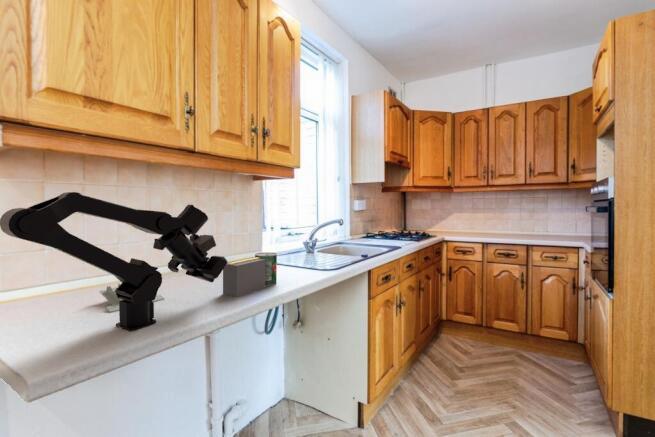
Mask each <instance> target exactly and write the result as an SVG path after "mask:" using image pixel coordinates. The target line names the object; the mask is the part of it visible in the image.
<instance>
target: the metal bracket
mask: <svg viewBox="0 0 655 437" xmlns="http://www.w3.org/2000/svg"><path fill="white" fill-rule="evenodd" d="M120 285H121V283H118V284H117V287H111V285H107V286H106V289H103V290H99V293H100V294H101V295H102V296H103V297H104V298H105V300H107V301H108V303H110V304H111V305H109V306H106V307H105V309H106V311H107V312H109V313H110V314H113V313H117V312H119V301H122V300H123V299H119V298H117V295H116V293H115V290H116V289H117V288H118V287H119V286H120ZM162 301H163V302H164V301H165V297H164V296H162V295H161V294H156V297H155V300H152V302H154V303H159V302H162Z"/></svg>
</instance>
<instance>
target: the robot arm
mask: <svg viewBox="0 0 655 437" xmlns="http://www.w3.org/2000/svg"><path fill="white" fill-rule="evenodd" d="M75 213H78V214H82V215H88V216H92V217H95V218H101V219H104V220H105V219H106V220H109V221H114V222H119V223H124V224H126V225H129V226H131V227H133V228H134V229H137V230H139V231H142V232H144V233H146V234H150V235H151V234H152V235H161V236H160V237H158V238H157V237H156V238H154V239H153V240H154V243H153V244H152V245H153V246H152V248H153V249H155V250H159V251H163V250H165V249H166V250H167V251H168V252H169V253H170V254H171V255H172V256H171V257H170V258H171V259H170V260H169V262H168V263H167V269H169V270H170V271H171V272H172V273H179V272H180V269H179V266H180V268H181V269H182V270H185V275H186V276H190V277H193V278H197V279H200V280H203V281H206V282H208V283H214V281H215V279H218V277H219V276H220V275H221V273H223V269H224V267H225V266H226V264H227V263H229V261H228V260H227V259H226V257H225V256H221V255H211V256H210V257H208V255H209V253H208V252H209V251H210V250H212V249H213V248H215V247H216V246H217V244H216V240H215V237H214V235H212V234H202V235H201V234H200V235H198V234H197V233H198V232H199V231H200V230H201V229H202V228H203V226H204V225H205V224H206V223H207V222H208V221H209V217H208V215H207V214H206V213H205V212H204V211H202V210H201V209H199V208H198V207H195V205H193V204H187V205H186V206H185V208H184V209H183V210H182V211H181V212H180V213H179V214H178V215H177V216H172V214H171V213H169V212H167V211H161V210H146V209H138V208H133V207H130V206H129V207H128V206H126V205H121V204H118V203H114V202H110V201H107V200H104V199H103V200H102V199H99V198H95V197H91V196H88V195H84V194H82V193H80V192H76V191H67V192H63V193H60V194H59V195H57V196H55V197H53V198H50V199H47V200H44V201H41V202H38V203H36V204H34V205H31V206H28V207H16V208H11V209H8V210H7V211H5V212H4V213H3V214H2V215H1V216H0V229H1V231H2V232H3V233H5V234H6V235H7V236H10V237H13V238H16V239H19V240H23V241H28V242H30V243H35V244H39V245H43V246H45V247H50V248H51V249H55V250H57V251H59V252H62V253H63V254H66V255H69V256H71V257H73V258H75V259H76V260H79V261H82V262H84V263H86V264H88V265H91V266H93V267H95V268H97V269H99V270H101V271H104V272H106V273H108V274H110V275H112V276H113V277H115V278H116V279H117V280H118V281H119V282H121V283H120V286H119V287H118V286H117V287H118V288H117V287H116V288H117V289H116V290H115V293H116V295H117V298H119V299H123V300H122V301H119V311H118V312H119V322H117V323H115V326H116V327H119V328H121V329H124V330H128V331H130V332H131V331H136V330H137V329H140V328H143V327H147V326H150V325H152V324H153V325H154V324H156V323H157V319H154V318H155V302H152V300H155V297H156V295H158V290H159V288H160V287H161V286H162V283H163V275H162V272H160V271H159V270H158V269H159V266H158V267H157V266H152V265H151V264H150V263H148V262H147V261H145V260H141V259H138V258H130V261H129V262H128V261H126V260H125V259H123V258H120V257H118V256H117V255H114V254H113V253H111V252H108V251H106V250H104V249H102V248H100V247H98V246H96V245H94V244H92V243H90V242H88V241H86V240H84V239H81V238H80V237H78V236H76V235H74V234H71V233H70V232H69V231H67V230H66V229H65V228H64V227H63V226H61V225H60V223H61V222H63V221H64V220H65V219H67V218H68V217H70V216H72V215H73V214H75ZM188 236H189V238H188Z"/></svg>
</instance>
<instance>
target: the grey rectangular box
mask: <svg viewBox="0 0 655 437" xmlns="http://www.w3.org/2000/svg"><path fill="white" fill-rule="evenodd" d="M263 288H266V286H265V259H260V257H256V258H255V257H249V258H244V259H239V260H235V261H230V262H229V261H228V263H227V264H226V266H225V267H224V269H223V270H222V295H226V296H229V297H236V298H238V297H241V296H244V295H247V294H250V293H252V292H255V291H258V290H261V289H263Z"/></svg>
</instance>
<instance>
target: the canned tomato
mask: <svg viewBox="0 0 655 437" xmlns="http://www.w3.org/2000/svg"><path fill="white" fill-rule="evenodd" d="M277 255H278V253H275V252H257V253H255V254H254V258H256V257H260V259H265V287H271V286H275V285H277V274H278V273H277V271H278V270H277V267H278V266H277V262H278V261H277V259H278V257H277Z"/></svg>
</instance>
